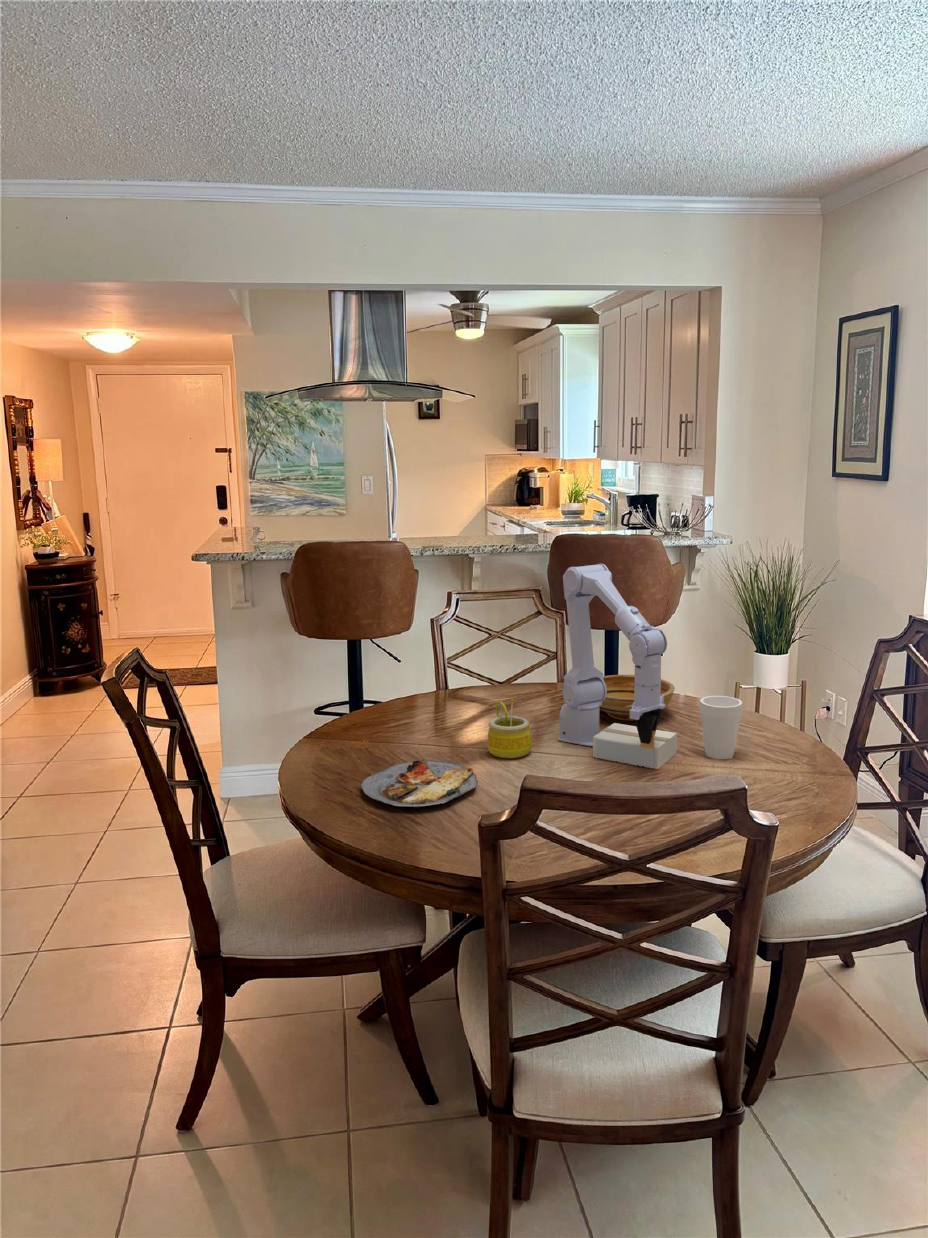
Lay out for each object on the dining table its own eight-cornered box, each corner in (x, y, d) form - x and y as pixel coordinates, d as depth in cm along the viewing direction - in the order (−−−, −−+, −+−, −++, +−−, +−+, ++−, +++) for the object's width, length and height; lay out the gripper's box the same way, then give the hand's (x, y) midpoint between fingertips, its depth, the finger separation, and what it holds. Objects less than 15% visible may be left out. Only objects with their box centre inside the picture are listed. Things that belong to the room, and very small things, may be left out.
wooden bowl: (574, 700, 254) (573, 673, 253) (657, 696, 256) (657, 670, 254) (596, 733, 225) (596, 703, 224) (689, 729, 227) (690, 699, 225)
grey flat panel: (595, 757, 207) (595, 722, 205) (597, 756, 208) (597, 721, 206) (652, 768, 199) (653, 732, 198) (654, 767, 200) (654, 731, 198)
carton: (593, 757, 209) (593, 736, 208) (614, 742, 218) (614, 722, 217) (657, 769, 200) (657, 747, 199) (676, 753, 210) (676, 732, 209)
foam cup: (740, 749, 211) (741, 697, 209) (741, 763, 202) (743, 708, 200) (698, 746, 214) (700, 695, 211) (698, 760, 205) (699, 706, 202)
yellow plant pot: (529, 762, 207) (529, 713, 205) (483, 760, 209) (482, 711, 207) (536, 743, 219) (535, 697, 217) (492, 742, 221) (491, 695, 219)
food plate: (419, 761, 209) (419, 747, 208) (498, 783, 195) (497, 769, 194) (342, 798, 190) (340, 782, 190) (422, 826, 176) (421, 809, 175)
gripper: (651, 694, 188) (650, 754, 191) (677, 678, 200) (676, 735, 203) (620, 689, 192) (620, 748, 195) (647, 674, 204) (647, 730, 207)
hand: (646, 741), depth 199 cm, fingers closed
